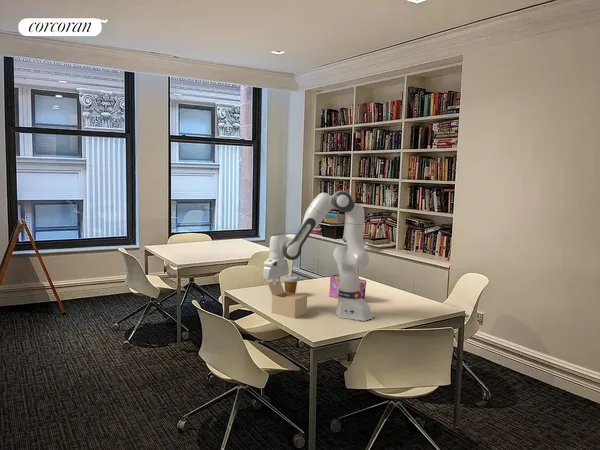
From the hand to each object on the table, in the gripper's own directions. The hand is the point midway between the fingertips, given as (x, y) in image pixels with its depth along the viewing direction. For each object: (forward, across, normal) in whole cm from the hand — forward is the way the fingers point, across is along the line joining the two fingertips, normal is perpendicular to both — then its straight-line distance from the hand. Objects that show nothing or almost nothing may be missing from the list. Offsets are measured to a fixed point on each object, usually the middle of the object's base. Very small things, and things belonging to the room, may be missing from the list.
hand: (276, 284), depth 288 cm
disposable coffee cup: (+15, -32, -12) cm, 37 cm away
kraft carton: (+15, 0, +10) cm, 18 cm away
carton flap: (+1, 0, 0) cm, 1 cm away
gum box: (+16, -51, +19) cm, 57 cm away
